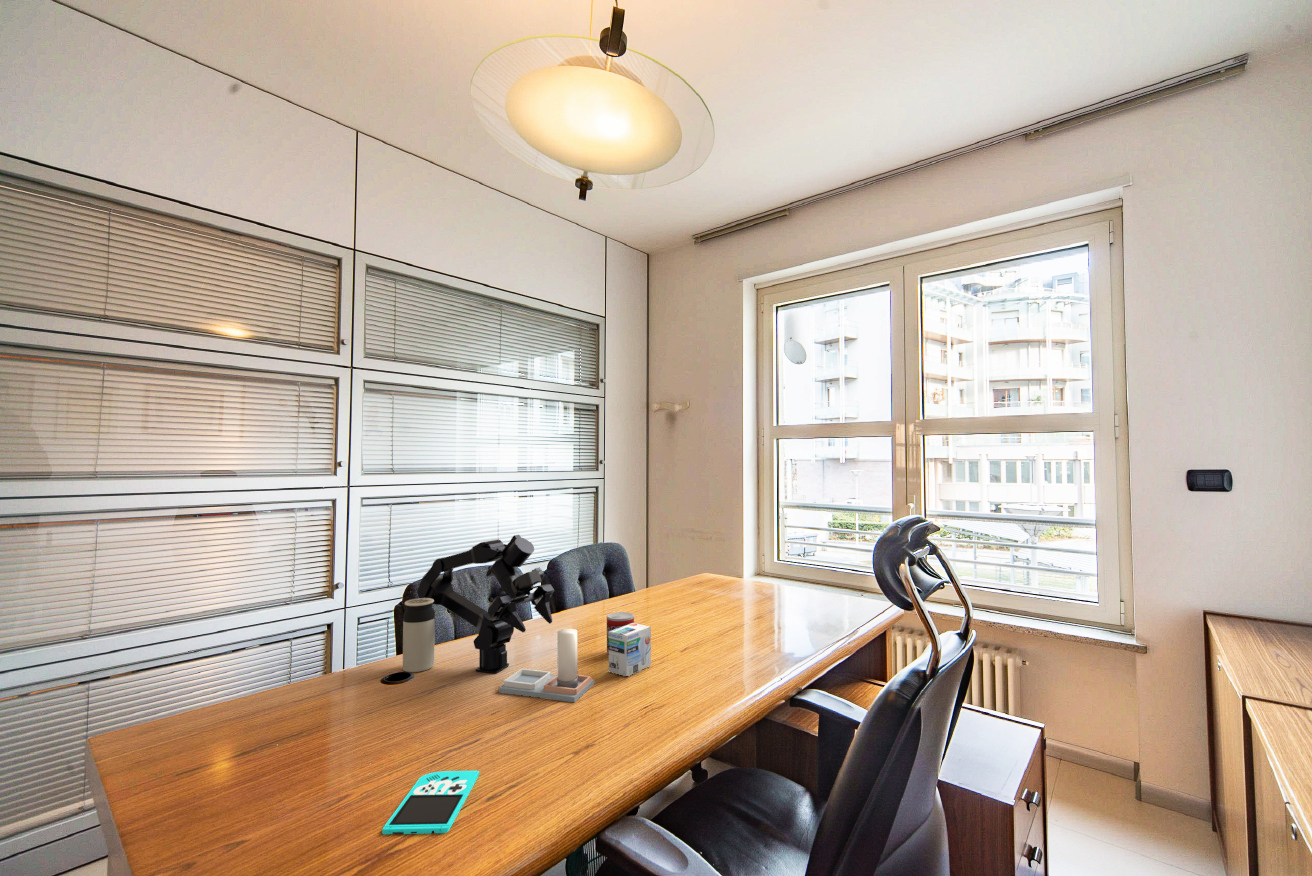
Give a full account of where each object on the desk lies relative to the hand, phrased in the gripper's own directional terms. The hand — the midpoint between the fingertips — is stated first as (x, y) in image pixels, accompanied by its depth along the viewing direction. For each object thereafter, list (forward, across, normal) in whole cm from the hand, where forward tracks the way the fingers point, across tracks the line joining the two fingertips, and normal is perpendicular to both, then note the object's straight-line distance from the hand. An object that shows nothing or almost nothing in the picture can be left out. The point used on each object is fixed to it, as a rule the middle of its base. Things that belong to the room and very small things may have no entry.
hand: (538, 626), depth 142 cm
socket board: (+14, -2, +6) cm, 15 cm away
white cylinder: (+16, 0, +1) cm, 16 cm away
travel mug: (-15, -11, +34) cm, 39 cm away
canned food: (+13, +28, +6) cm, 32 cm away
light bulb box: (+20, +20, 0) cm, 28 cm away
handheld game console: (+27, -45, -7) cm, 53 cm away
